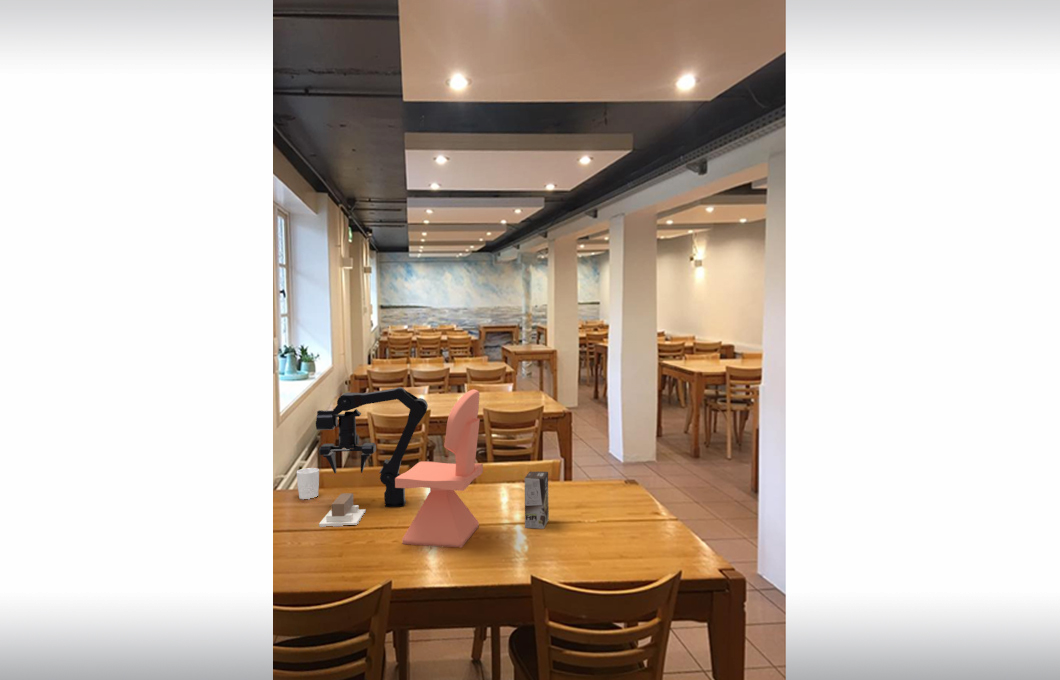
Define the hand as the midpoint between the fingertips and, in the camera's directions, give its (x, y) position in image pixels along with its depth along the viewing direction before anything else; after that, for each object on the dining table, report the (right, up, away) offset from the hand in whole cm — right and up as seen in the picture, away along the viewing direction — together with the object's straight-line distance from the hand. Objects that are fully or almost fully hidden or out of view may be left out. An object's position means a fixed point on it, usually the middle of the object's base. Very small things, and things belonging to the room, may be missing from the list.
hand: (348, 472), depth 232 cm
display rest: (+2, -13, -13) cm, 18 cm away
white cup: (-18, -12, +13) cm, 25 cm away
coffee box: (+66, -13, -20) cm, 70 cm away
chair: (+38, -13, -30) cm, 50 cm away
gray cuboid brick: (+2, -10, -13) cm, 17 cm away
